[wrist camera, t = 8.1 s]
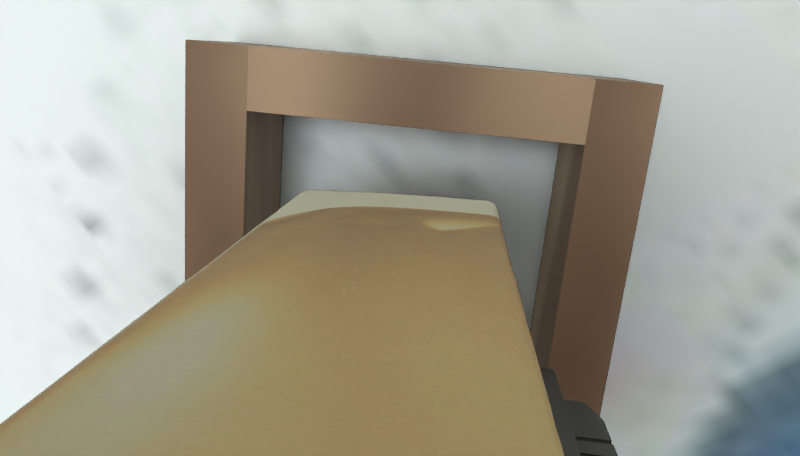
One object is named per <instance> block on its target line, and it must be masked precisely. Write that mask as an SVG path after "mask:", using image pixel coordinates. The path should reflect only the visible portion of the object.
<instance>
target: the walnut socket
mask: <svg viewBox="0 0 800 456" xmlns="http://www.w3.org/2000/svg"><path fill="white" fill-rule="evenodd" d="M663 86H664V85H659V84H653V83H646V82H640V81H634V80H628V79H619V78H608V77H598V76H587V75H577V74H566V73H555V72H545V71H534V70H524V69H513V68H503V67H492V66H482V65H471V64H460V63H450V62H439V61H429V60H418V59H408V58H397V57H387V56H376V55H366V54H355V53H344V52H334V51H323V50H313V49H302V48H292V47H281V46H271V45H260V44H249V43H239V42H222V41H200V40H186V85H185V281H186V280H188V279H189V278H190V277H192V276H193V275H195V274H196V273H197V272H199V271H200V270H201V269H202V268H204V267H205V266H206V265H208V264H209V263H210V262H212V261H213V260H214V259H216V258H217V257H218V256H220V255H221V254H222V253H223V252H225V251H226V250H227V249H228V248H230V247H231V246H232V245H234V244H235V243H236V242H237V241H239V240H240V239H241V238H243V237H244V236H245V235H246V234H248V233H249V232H250V231H251V230H253V229H254V228H255V227H256V226H258V225H259V224H261V223H262V222H263V221H265V220H266V219H267V218H269V217H270V216H271V215H273V214H274V213H275V212H277V211H278V210H279V209H280V187H281V164H282V140H283V116H284V115H293V116H303V117H313V118H323V119H333V120H343V121H352V122H362V123H372V124H382V125H392V126H402V127H412V128H422V129H432V130H442V131H451V132H461V133H471V134H481V135H491V136H501V137H511V138H521V139H531V140H541V141H551V142H560V143H559V149H558V156H557V162H556V168H555V175H554V181H553V188H552V194H551V200H550V207H549V213H548V220H547V226H546V233H545V239H544V245H543V252H542V258H541V265H540V271H539V277H538V284H537V290H536V297H535V303H534V310H533V316H532V322H531V329H530V335H531V338H532V342H533V345H534V349H535V353H536V356H537V360H538V363H539V367H540V368H549V369H554V371H555V374H556V377H557V380H558V384H559V387H560V390H561V393H562V397H563V399H564V400H572V401H580V402H584V403H585V404H587V405H588V406H589V407H590V408H591V409H592V410H593V411H594V412H595V413H596V414H597V415H598V416H600V411H601V406H602V400H603V395H604V390H605V385H606V380H607V375H608V369H609V364H610V359H611V354H612V349H613V344H614V339H615V333H616V328H617V323H618V318H619V313H620V308H621V302H622V297H623V292H624V287H625V282H626V277H627V272H628V266H629V261H630V256H631V251H632V246H633V241H634V235H635V230H636V225H637V220H638V215H639V210H640V205H641V199H642V194H643V189H644V184H645V179H646V174H647V168H648V163H649V158H650V153H651V148H652V143H653V137H654V132H655V127H656V122H657V117H658V112H659V107H660V101H661V96H662V91H663Z"/></svg>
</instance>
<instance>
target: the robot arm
mask: <svg viewBox="0 0 800 456" xmlns="http://www.w3.org/2000/svg"><path fill="white" fill-rule="evenodd" d="M540 371H541V374H542V378H543V381H544V385H545V388H546V392H547V396H548V399H549V403H550V406H551V410H552V414H553V418H554V422H555V426H556V430H557V433H558V436H559V439H560V442H561V445H562V449H563V453H564V456H617V453H616V451H615V448H614V446H613V445H611V438H610V436H609V433H608V431H607V428H606V426H605V423H604V421H603V420H602V419H601V418H600V417H599V416H598V415H597V414H596V413H595V412H594V411H593V410H592V409H591V408H590V407H589V406H588V405H587V404H585V403H584V402H580V401H572V400H564V399H563V397H562V393H561V390H560V387H559V384H558V380H557V377H556V374H555V371H554V369H549V368H540Z"/></svg>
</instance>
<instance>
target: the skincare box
mask: <svg viewBox="0 0 800 456" xmlns="http://www.w3.org/2000/svg"><path fill="white" fill-rule="evenodd" d="M0 456H564V453H563V449H562V445H561V442H560V439H559V436H558V433H557V430H556V426H555V422H554V418H553V414H552V410H551V406H550V403H549V399H548V396H547V392H546V388H545V385H544V381H543V378H542V374H541V371H540V367H539V363H538V360H537V356H536V353H535V349H534V345H533V342H532V338H531V335H530V331H529V328H528V324H527V321H526V317H525V314H524V309H523V305H522V301H521V297H520V293H519V290H518V286H517V282H516V279H515V275H514V272H513V269H512V266H511V262H510V258H509V254H508V251H507V247H506V242H505V238H504V234H503V231H502V228H501V223H500V218H499V215H498V211H497V208H496V205H495V204H494V203H493V202H490V201H484V200H471V199H460V198H448V197H437V196H420V195H407V194H390V193H373V192H351V191H330V190H307V191H303V192H301V193H299V194H298V195H297V196H296V197H294V198H293V199H292V200H291V201H289V202H288V203H287V204H285V205H284V206H283V207H281V208H280V209H279V210H278V211H277V212H275V213H274V214H273V215H271V216H270V217H269V218H267V219H266V220H265V221H263V222H262V223H261V224H259V225H258V226H256V227H255V228H254V229H253V230H251V231H250V232H249V233H248V234H246V235H245V236H244V237H243V238H241V239H240V240H239V241H237V242H236V243H235V244H234V245H232V246H231V247H230V248H228V249H227V250H226V251H225V252H223V253H222V254H221V255H220V256H218V257H217V258H216V259H214V260H213V261H212V262H210V263H209V264H208V265H206V266H205V267H204V268H202V269H201V270H200V271H199V272H197V273H196V274H195V275H193V276H192V277H190V278H189V279H188V280H186V281H185V282H184V283H183V284H181V285H180V286H179V287H177V288H176V289H175V290H174V291H172V292H171V293H170V294H169V295H167V296H166V297H165V298H163V299H162V300H161V301H160V302H158V303H157V304H156V305H154V306H153V307H152V308H151V309H149V310H148V311H147V312H145V313H144V314H143V315H141V316H140V317H139V318H137V319H136V320H135V321H133V322H132V323H131V324H129V325H128V326H127V327H126V328H124V329H123V330H122V331H120V332H119V333H118V334H116V335H115V336H114V337H113V338H111V339H110V340H109V341H107V342H106V343H105V344H103V345H102V346H101V347H100V348H98V349H97V350H96V351H94V352H93V353H92V354H91V355H89V356H88V357H87V358H85V359H84V360H83V361H81V362H80V363H79V364H78V365H76V366H75V367H74V368H72V369H71V370H70V371H69V372H67V373H66V374H65V375H63V376H62V377H61V378H59V379H58V380H57V381H56V382H54V383H53V384H52V385H50V386H49V387H48V388H46V389H45V390H44V391H43V392H41V393H40V394H39V395H37V396H36V397H35V398H33V399H32V400H31V401H30V402H28V403H27V404H26V405H24V406H23V407H22V408H20V409H19V410H18V411H17V412H15V413H14V414H13V415H11V416H10V417H9V418H7V419H6V420H5V421H3V422H2V423H1V424H0Z"/></svg>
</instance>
